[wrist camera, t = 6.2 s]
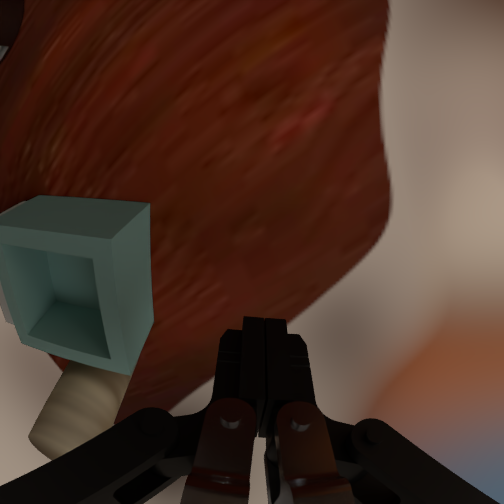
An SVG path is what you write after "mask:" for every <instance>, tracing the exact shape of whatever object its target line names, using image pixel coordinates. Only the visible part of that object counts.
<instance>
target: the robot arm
mask: <svg viewBox="0 0 504 504" xmlns="http://www.w3.org/2000/svg"><path fill="white" fill-rule="evenodd" d="M258 432H259V433H258ZM257 433H258V437H263V438H266V451H265V454H264V464H265V475H266V485H267V495H268V504H499V503H498V502H496V501H495V500H493V499H492V498H490V497H489V496H487V495H486V494H484V493H483V492H481V491H479V490H478V489H477V488H475V487H473V486H472V485H471V484H469V483H468V482H466V481H465V480H463V479H462V478H460V477H459V476H457V475H456V474H455V473H453V472H452V471H450V470H449V469H447V468H446V467H445V466H443V465H441V464H440V463H439V462H438V461H436V460H435V459H433V458H432V457H431V456H429V455H428V454H427V453H425V452H424V451H422V450H421V449H420V448H418V447H417V446H415V445H414V444H413V443H412V442H410V441H409V440H408V439H406V438H405V437H403V436H402V435H401V434H400V433H398V432H397V431H395V430H394V429H393V428H392V427H390V426H389V425H388V424H386V423H385V422H383V421H381V420H378V419H371V418H369V419H364V420H362V421H360V422H358V423H357V424H356V425H355V426H354V425H350V424H346V423H342V422H337V421H334V420H331V419H330V418H328V417H326V416H325V415H324V414H323V413H322V412H321V411H320V409H319V408H318V407H317V405H316V401H315V394H314V388H313V381H312V375H311V369H310V363H309V358H308V351H307V345H306V343H305V342H304V341H303V339H302V338H301V336H300V335H299V334H288V333H287V324H286V320H285V319H273V318H265V321H264V318H259V317H247V316H244V318H243V327H242V330H232V329H227V331H226V332H225V333H224V334H223V336H222V337H221V338H220V344H219V351H218V358H217V365H216V372H215V379H214V386H213V393H212V398H211V401H210V403H209V404H208V405H207V406H206V407H205V408H204V409H203V410H201V411H199V412H197V413H195V414H191V415H184V416H176V417H173V416H172V415H171V414H170V413H168V412H167V411H165V410H163V409H160V408H153V407H151V408H144V409H141V410H139V411H137V412H135V413H134V414H132V415H130V416H129V417H127V418H126V419H124V420H122V421H121V422H119V423H117V424H116V425H114V426H112V427H111V428H109V429H107V430H106V431H104V432H102V433H101V434H99V435H97V436H95V437H94V438H92V439H90V440H88V441H87V442H85V443H83V444H81V445H80V446H78V447H76V448H74V449H73V450H71V451H69V452H67V453H65V454H63V455H62V456H60V457H58V458H56V459H54V460H52V461H50V462H49V463H47V464H45V465H43V466H41V467H39V468H37V469H35V470H33V471H31V472H29V473H27V474H25V475H23V476H21V477H19V478H17V479H15V480H12V481H10V482H8V483H6V484H4V485H2V486H0V504H143V503H145V502H146V501H148V500H149V499H151V498H152V497H153V496H155V495H157V494H158V493H159V492H161V491H162V490H164V489H165V488H166V487H168V486H169V485H171V484H172V483H173V482H175V481H176V480H177V479H178V478H180V477H181V476H185V475H188V477H187V480H186V483H185V487H184V490H183V494H182V499H181V503H180V504H248V500H249V491H250V482H249V481H250V480H249V479H250V471H251V462H252V454H253V445H254V439H255V437H257Z"/></svg>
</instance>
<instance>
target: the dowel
mask: <svg viewBox="0 0 504 504" xmlns="http://www.w3.org/2000/svg"><path fill="white" fill-rule="evenodd" d="M137 362H138V360H137ZM137 362H136V364H137ZM136 364H135V367H136ZM135 367H134V369H135ZM134 369H133V372H134ZM133 372H132V374H133ZM132 374H131V376H132ZM131 376H129V375H125V374H121V373H116V372H112V371H108V370H104V369H101V368H97V367H93V366H90V365H86V364H82V363H79V362H76V361H72V360H70V362H69V363H68V365H67V367H66V368H65V370H64V372H63V373H62V375H61V377H60V379H59V380H58V382H57V384H56V385H55V387H54V389H53V391H52V392H51V394H50V396H49V398H48V400H47V401H46V403H45V405H44V407H43V409H42V411H41V413H40V414H39V416H38V418H37V420H36V422H35V424H34V426H33V428H32V430H31V432H30V434H29V436H28V438H29V440H30V442H31V443H32V444H33V445H34V446H35V447H36V448H37V449H38V450H39V451H40V452H41V453H42V454H44V455H45V456H46V457H48V458H49V459H51V460H54V459H56V458H58V457H60V456H62V455H63V454H65V453H67V452H69V451H71V450H73V449H74V448H76V447H78V446H80V445H81V444H83V443H85V442H87V441H88V440H90V439H92V438H94V437H95V436H97V435H99V434H101V433H102V432H104V431H106V430H107V429H109V428H111V427H112V426H113V423H114V420H115V418H116V415H117V412H118V410H119V407H120V404H121V402H122V399H123V397H124V394H125V392H126V389H127V387H128V384H129V381H130V379H131Z"/></svg>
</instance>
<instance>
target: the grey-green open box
mask: <svg viewBox="0 0 504 504" xmlns="http://www.w3.org/2000/svg"><path fill="white" fill-rule="evenodd" d="M0 282H1V286H2V289H3V293H4V296H5V299H6V302H7V305H8V308H9V311H10V314H11V317H12V320H13V322H14V325H15V328H16V330H17V333H18V335H19V338H20V340H21V343H23V344H25V345H28V346H30V347H33V348H36V349H39V350H42V351H44V352H47V353H50V354H53V355H56V356H59V357H63V358H66V359H69V360H72V361H76V362H79V363H82V364H86V365H90V366H93V367H97V368H101V369H104V370H108V371H112V372H116V373H121V374H125V375H129V376H131V374H132V372H133V369H134V367H135V364H136V362H137V360H138V357H139V355H140V352H141V350H142V348H143V345H144V343H145V341H146V338H147V336H148V334H149V331H150V329H151V327H152V324H153V322H154V315H153V301H152V283H151V257H150V203H143V202H131V201H119V200H106V199H93V198H78V197H62V196H44V195H38V196H36V197H34V198H32V199H30V200H29V201H27V202H25V203H23V204H21V205H19V206H17V207H15V208H14V209H12V210H10V211H8V212H6V213H5V214H3V215H1V216H0Z"/></svg>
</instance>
